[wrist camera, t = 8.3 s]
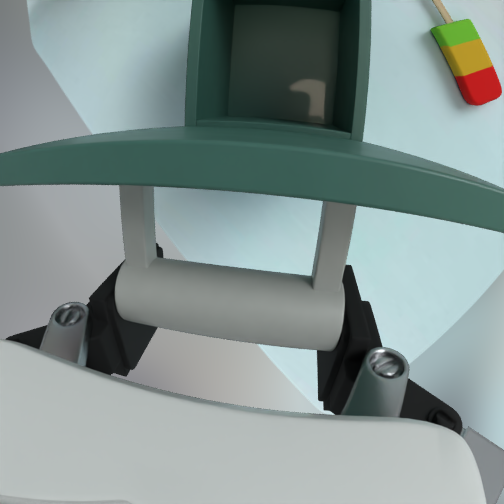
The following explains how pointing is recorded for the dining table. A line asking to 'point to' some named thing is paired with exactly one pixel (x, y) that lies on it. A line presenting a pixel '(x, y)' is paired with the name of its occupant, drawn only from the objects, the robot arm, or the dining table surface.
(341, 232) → the cool box lid
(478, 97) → the popsicle
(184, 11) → the dining table surface
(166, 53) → the dining table surface
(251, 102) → the cool box
